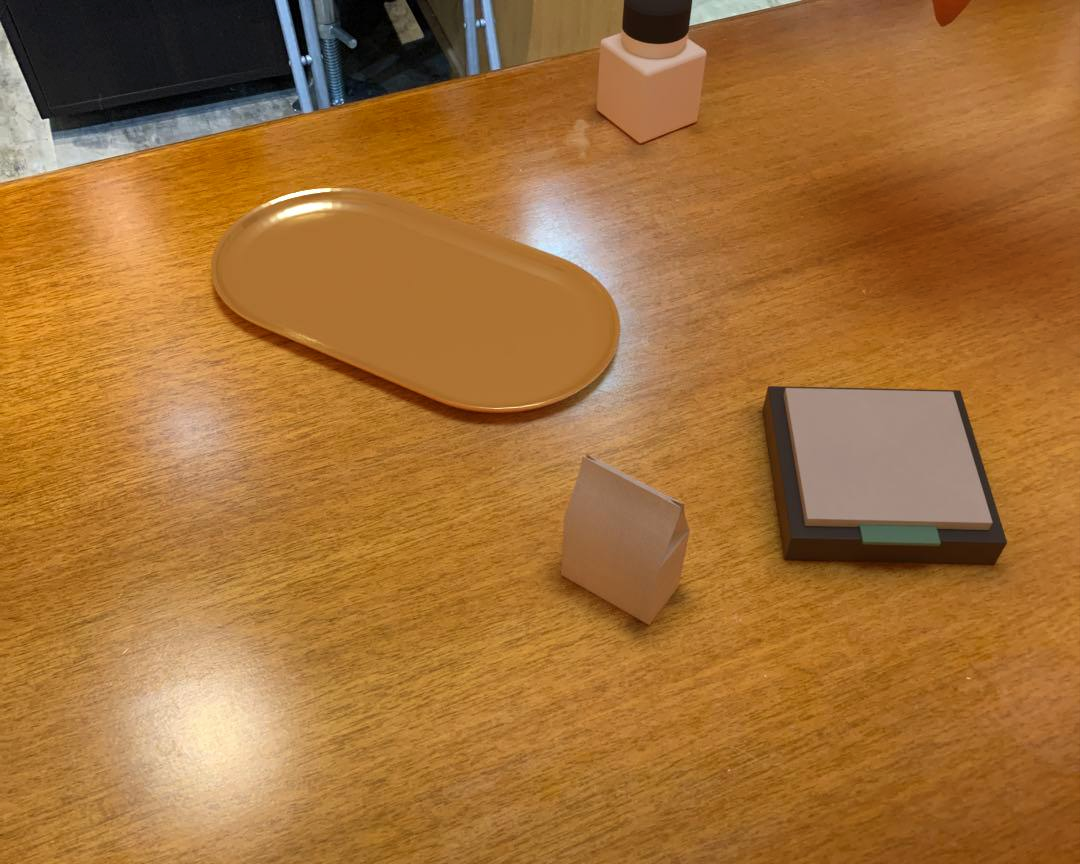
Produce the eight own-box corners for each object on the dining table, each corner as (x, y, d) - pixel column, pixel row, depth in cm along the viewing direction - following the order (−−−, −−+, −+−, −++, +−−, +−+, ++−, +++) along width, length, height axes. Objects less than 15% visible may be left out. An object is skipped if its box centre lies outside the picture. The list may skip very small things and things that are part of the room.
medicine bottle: (698, 122, 104) (716, -4, 94) (639, 145, 101) (651, 18, 92) (653, 89, 107) (665, -36, 98) (594, 110, 105) (602, -16, 95)
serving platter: (546, 459, 77) (546, 444, 76) (166, 297, 87) (161, 282, 86) (658, 308, 87) (660, 293, 86) (306, 179, 97) (304, 164, 96)
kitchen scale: (950, 413, 80) (964, 381, 78) (996, 569, 72) (1013, 540, 69) (762, 408, 81) (769, 377, 78) (785, 564, 72) (794, 535, 69)
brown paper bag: (649, 625, 69) (665, 527, 61) (561, 575, 71) (566, 474, 63) (678, 586, 71) (698, 486, 63) (592, 538, 73) (600, 436, 65)
